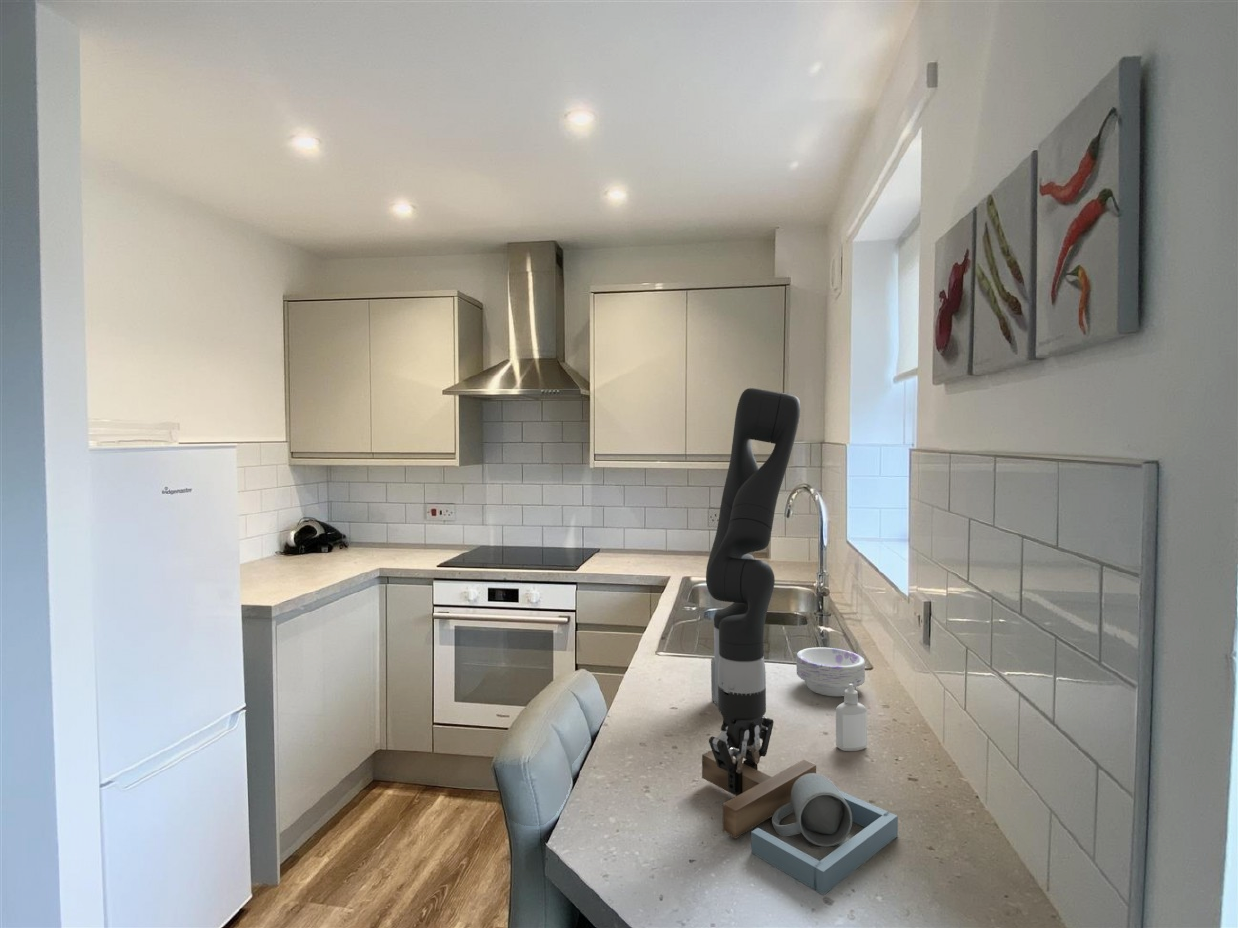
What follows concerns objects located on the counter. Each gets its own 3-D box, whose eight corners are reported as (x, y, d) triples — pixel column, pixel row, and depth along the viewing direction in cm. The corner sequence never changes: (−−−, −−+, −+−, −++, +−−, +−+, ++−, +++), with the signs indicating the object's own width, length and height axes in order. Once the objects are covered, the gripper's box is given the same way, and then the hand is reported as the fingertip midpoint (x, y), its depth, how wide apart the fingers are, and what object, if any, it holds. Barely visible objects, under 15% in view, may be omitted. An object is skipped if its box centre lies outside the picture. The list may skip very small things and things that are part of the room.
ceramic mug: (836, 814, 101) (835, 765, 100) (853, 847, 92) (852, 793, 92) (767, 816, 101) (765, 767, 101) (778, 848, 93) (777, 795, 93)
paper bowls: (872, 685, 154) (871, 652, 154) (855, 707, 142) (855, 670, 142) (808, 673, 163) (807, 642, 163) (787, 693, 150) (787, 659, 150)
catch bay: (751, 852, 92) (751, 831, 92) (827, 803, 104) (827, 785, 104) (823, 894, 83) (823, 871, 83) (897, 835, 95) (897, 815, 95)
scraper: (665, 795, 104) (665, 771, 104) (746, 756, 117) (746, 734, 117) (735, 838, 93) (735, 810, 93) (816, 789, 106) (816, 765, 106)
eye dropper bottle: (868, 754, 120) (867, 689, 120) (836, 750, 122) (835, 687, 121) (866, 743, 124) (865, 681, 124) (835, 740, 126) (834, 678, 126)
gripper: (751, 666, 112) (752, 766, 112) (694, 687, 103) (695, 795, 103) (787, 678, 106) (788, 783, 107) (730, 701, 97) (732, 815, 98)
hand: (742, 788), depth 105 cm, fingers closed on scraper, 3 cm apart
